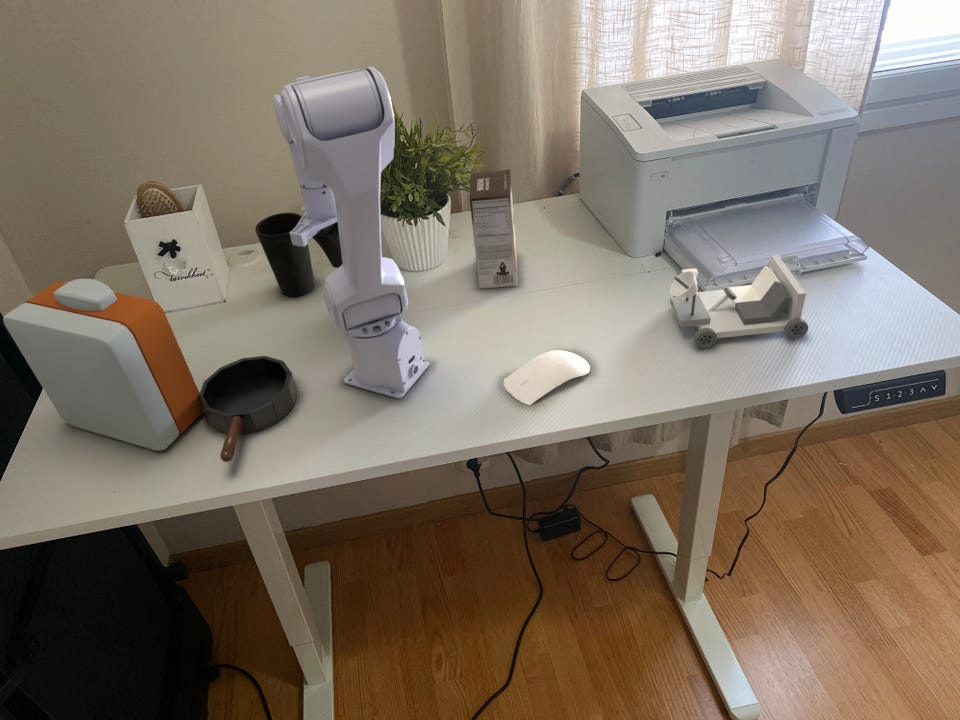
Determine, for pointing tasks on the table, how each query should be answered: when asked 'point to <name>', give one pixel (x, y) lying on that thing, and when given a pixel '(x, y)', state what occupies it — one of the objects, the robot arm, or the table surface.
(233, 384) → the pan
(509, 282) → the coffee box
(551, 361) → the computer mouse
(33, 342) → the alarm clock
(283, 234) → the cup
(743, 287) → the toy cart
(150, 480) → the table surface
